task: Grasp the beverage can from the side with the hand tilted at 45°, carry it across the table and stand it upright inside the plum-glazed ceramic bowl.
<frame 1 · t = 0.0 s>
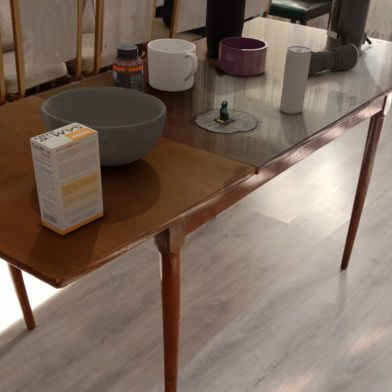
flashlight: (325, 72, 152), on the table
supplement bottle: (129, 106, 129), on the table
mug: (175, 86, 139), on the table
sculpture: (226, 122, 125), on the table
supplement box: (73, 221, 92), on the table
beverage can: (290, 111, 131), on the table
bowl: (106, 161, 109), on the table
plum bowl: (241, 70, 150), on the table
portable speaker: (222, 55, 159), on the table
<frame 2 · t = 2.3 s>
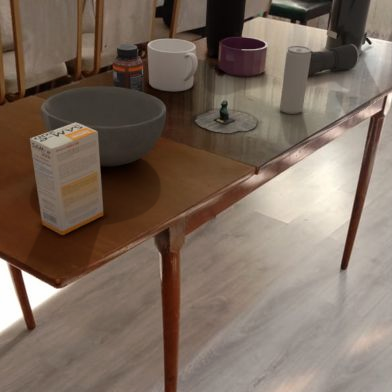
nothing on the table moved.
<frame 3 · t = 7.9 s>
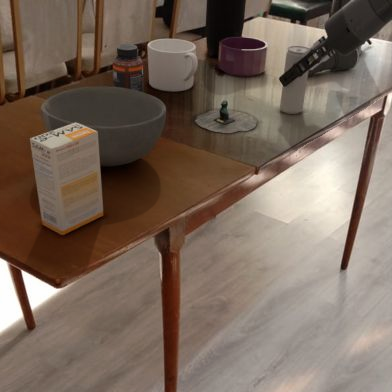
hand: (286, 78, 127), 6 cm above the table, tool tilted 45°, fingers closed on beverage can, 4 cm apart
beverage can: (290, 111, 131), on the table, touching gripper
everything else where it was.
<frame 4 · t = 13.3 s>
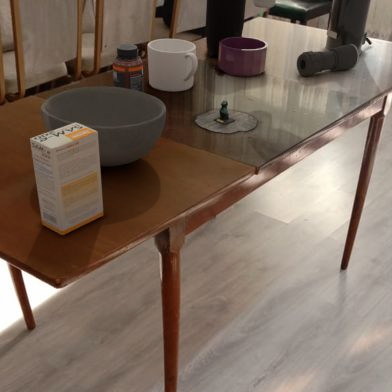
beverage can: (263, 6, 134), point 15 cm above the table, touching gripper
everything else where it was.
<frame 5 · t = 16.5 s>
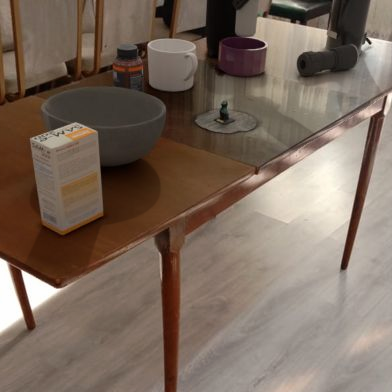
hand: (239, 4, 141), 14 cm above the table, tool tilted 45°, fingers closed on beverage can, 4 cm apart
beverage can: (244, 35, 145), point 8 cm above the table, touching gripper
everything else where it was.
when the fingers open (7 cm above the table, at t = 18.9 s): beverage can stays where it is, resting on plum bowl.
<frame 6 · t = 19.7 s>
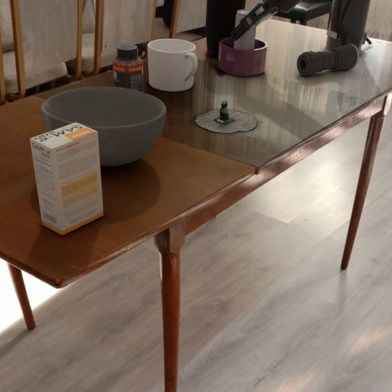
hand: (239, 33, 145), 8 cm above the table, tool tilted 45°, fingers open, 8 cm apart
beverage can: (242, 68, 149), resting on plum bowl
everything else where it was.
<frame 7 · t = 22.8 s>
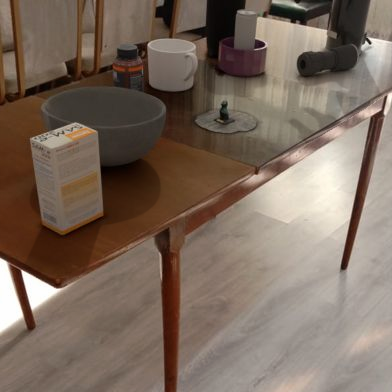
nothing on the table moved.
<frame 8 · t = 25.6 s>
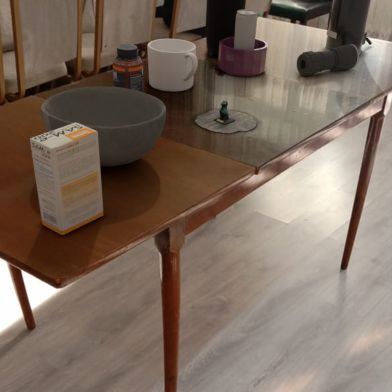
nothing on the table moved.
at the end: beverage can 0.2 cm off-centre in the plum bowl, point 0.4 cm above the plum bowl's base; beverage can tilted 0°; the gripper is holding nothing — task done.
